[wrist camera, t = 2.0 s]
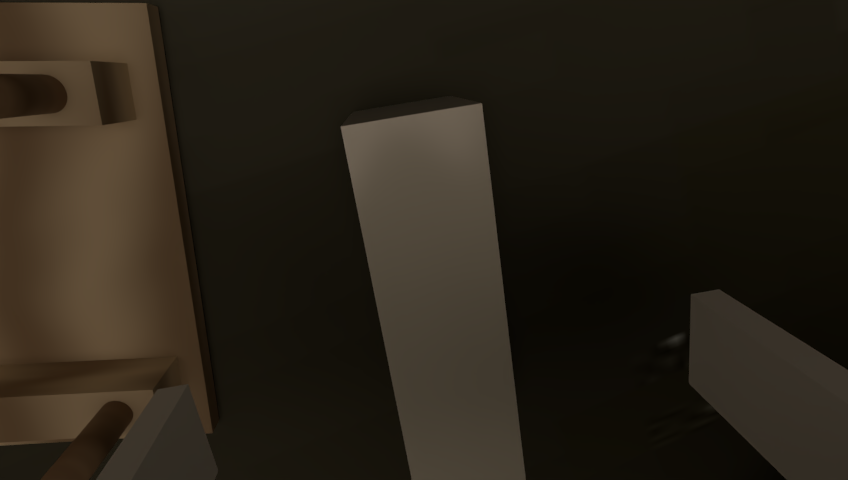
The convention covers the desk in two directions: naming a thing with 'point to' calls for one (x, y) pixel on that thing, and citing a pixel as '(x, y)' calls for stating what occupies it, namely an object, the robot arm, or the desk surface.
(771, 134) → the desk surface
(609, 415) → the desk surface
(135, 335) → the rack
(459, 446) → the grey rectangular block
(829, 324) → the desk surface
